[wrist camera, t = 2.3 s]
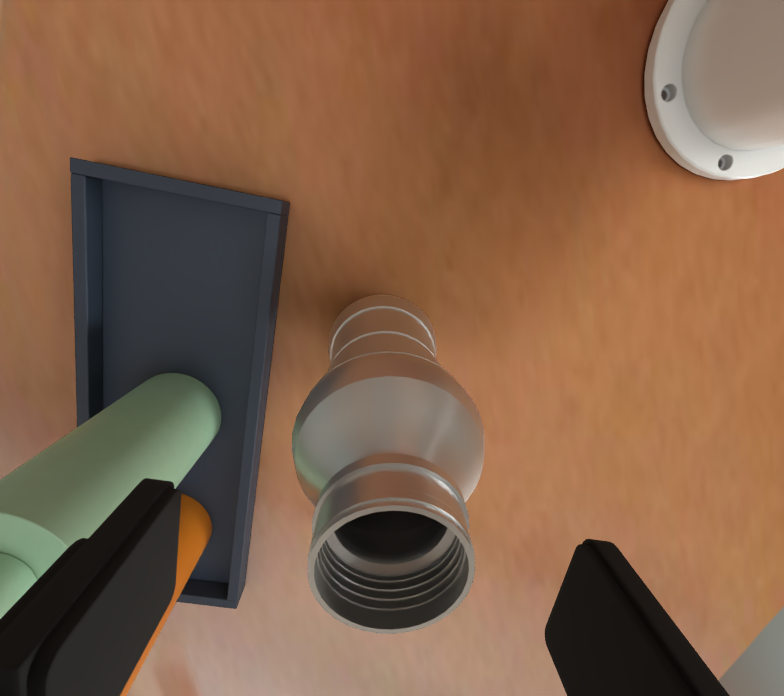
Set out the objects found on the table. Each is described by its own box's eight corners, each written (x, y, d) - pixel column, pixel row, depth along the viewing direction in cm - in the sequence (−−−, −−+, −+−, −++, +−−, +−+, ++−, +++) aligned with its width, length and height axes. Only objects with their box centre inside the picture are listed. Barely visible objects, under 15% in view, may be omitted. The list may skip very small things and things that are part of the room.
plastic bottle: (330, 288, 27) (213, 445, 8) (432, 287, 27) (559, 437, 8) (335, 380, 29) (250, 686, 10) (430, 378, 29) (531, 674, 10)
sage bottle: (134, 365, 28) (-273, 602, 10) (225, 380, 28) (-19, 630, 11) (132, 443, 29) (-220, 760, 12) (218, 456, 30) (-2, 777, 13)
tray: (94, 162, 24) (69, 156, 22) (290, 202, 25) (282, 200, 23) (98, 568, 33) (80, 590, 31) (244, 586, 34) (236, 609, 32)
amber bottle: (132, 485, 30) (-194, 832, 13) (215, 497, 31) (6, 846, 14) (131, 550, 32) (-160, 935, 15) (209, 561, 32) (18, 943, 15)
